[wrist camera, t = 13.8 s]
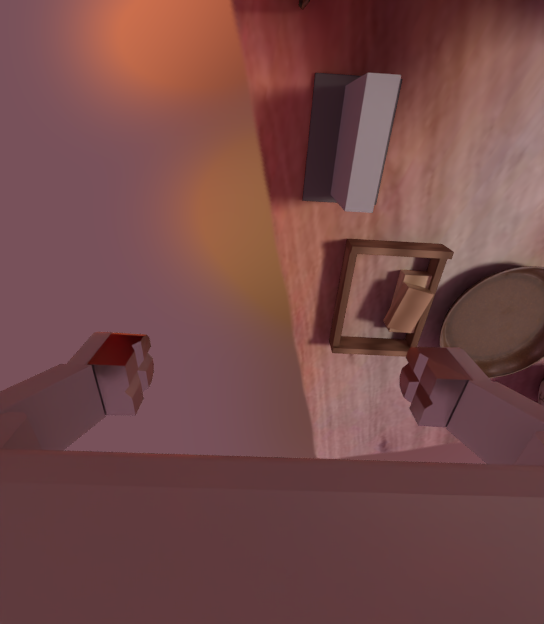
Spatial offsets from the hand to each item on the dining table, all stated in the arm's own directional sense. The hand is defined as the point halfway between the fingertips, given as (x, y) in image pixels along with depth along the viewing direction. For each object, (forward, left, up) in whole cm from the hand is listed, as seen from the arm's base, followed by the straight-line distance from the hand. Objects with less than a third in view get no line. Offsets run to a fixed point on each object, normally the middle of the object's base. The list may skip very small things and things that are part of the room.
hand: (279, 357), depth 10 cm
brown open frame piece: (-18, +16, -38) cm, 44 cm away
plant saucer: (-38, +19, -38) cm, 57 cm away
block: (-9, -5, -37) cm, 38 cm away
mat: (-9, -5, -38) cm, 39 cm away
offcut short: (-21, +16, -36) cm, 44 cm away
